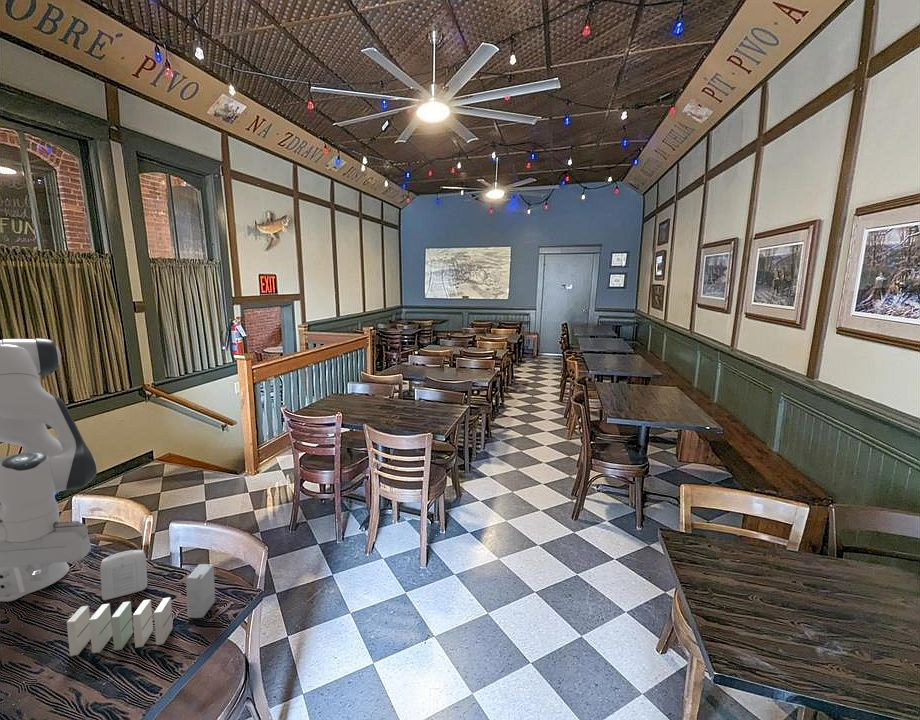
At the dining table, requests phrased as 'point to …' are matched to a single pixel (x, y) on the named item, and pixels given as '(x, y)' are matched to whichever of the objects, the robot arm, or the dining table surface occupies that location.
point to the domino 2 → (100, 628)
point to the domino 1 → (79, 630)
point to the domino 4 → (163, 620)
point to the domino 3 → (142, 623)
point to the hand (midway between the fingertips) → (38, 578)
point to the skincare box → (200, 590)
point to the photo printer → (123, 574)
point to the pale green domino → (122, 625)
